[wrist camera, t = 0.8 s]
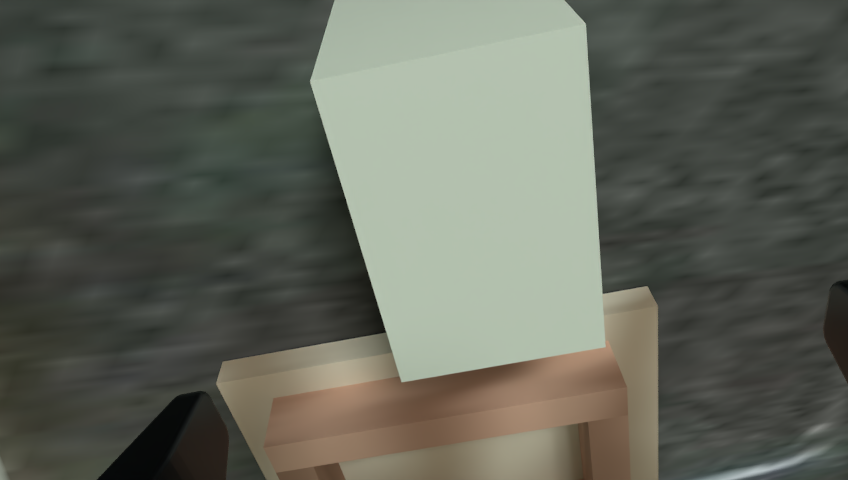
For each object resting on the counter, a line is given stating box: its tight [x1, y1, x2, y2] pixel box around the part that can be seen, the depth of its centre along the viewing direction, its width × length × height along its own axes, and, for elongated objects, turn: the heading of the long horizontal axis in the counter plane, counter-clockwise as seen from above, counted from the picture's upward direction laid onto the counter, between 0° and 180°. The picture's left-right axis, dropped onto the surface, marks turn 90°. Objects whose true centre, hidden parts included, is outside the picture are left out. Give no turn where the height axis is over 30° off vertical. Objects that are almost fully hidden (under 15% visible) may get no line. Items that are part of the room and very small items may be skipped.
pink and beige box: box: [216, 286, 658, 480], centre depth 23 cm, size 14×10×3 cm
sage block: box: [310, 0, 606, 382], centre depth 15 cm, size 4×7×6 cm, turn 11°
